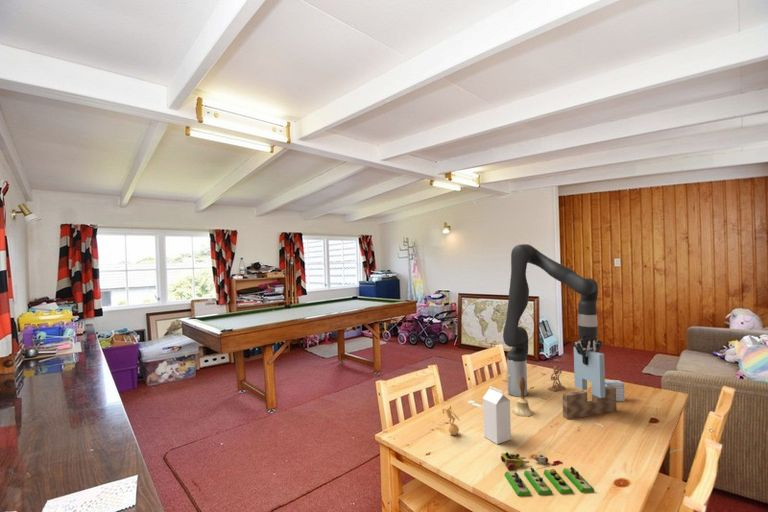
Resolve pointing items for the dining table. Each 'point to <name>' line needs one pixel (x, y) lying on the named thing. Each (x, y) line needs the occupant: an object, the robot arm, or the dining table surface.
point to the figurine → (453, 427)
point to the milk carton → (496, 416)
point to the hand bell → (522, 402)
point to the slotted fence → (588, 403)
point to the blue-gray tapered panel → (590, 372)
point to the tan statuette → (558, 386)
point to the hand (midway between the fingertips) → (588, 363)
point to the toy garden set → (537, 481)
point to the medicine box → (618, 386)
